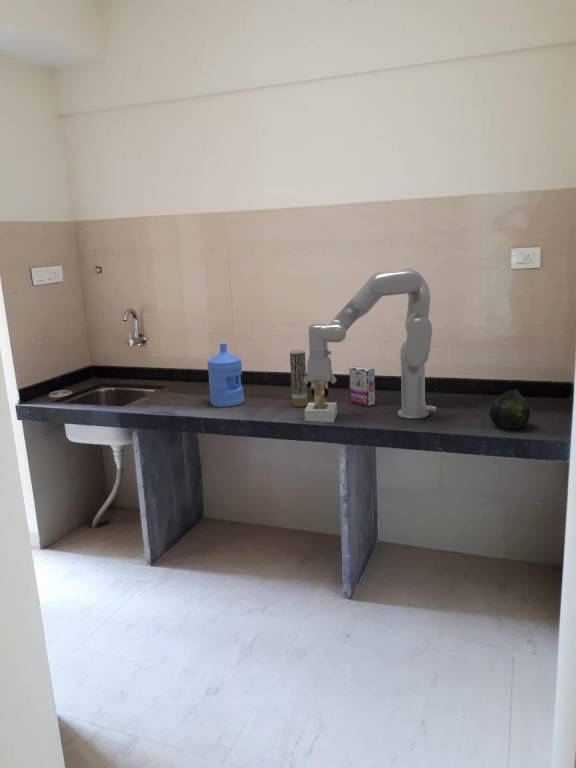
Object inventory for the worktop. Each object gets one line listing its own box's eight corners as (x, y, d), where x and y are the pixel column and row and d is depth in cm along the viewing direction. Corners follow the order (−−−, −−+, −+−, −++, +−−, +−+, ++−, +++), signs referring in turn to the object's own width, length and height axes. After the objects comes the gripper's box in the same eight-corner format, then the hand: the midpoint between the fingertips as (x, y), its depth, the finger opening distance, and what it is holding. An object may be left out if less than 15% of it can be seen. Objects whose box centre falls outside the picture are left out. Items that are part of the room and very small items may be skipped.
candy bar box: (375, 404, 283) (375, 368, 279) (368, 407, 279) (367, 370, 275) (357, 400, 291) (356, 365, 287) (349, 402, 288) (348, 367, 284)
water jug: (205, 407, 292) (200, 347, 285) (217, 398, 307) (212, 341, 300) (238, 408, 288) (233, 347, 281) (248, 398, 303) (244, 341, 296)
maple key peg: (326, 401, 268) (325, 378, 266) (324, 405, 262) (323, 381, 260) (316, 401, 269) (315, 378, 266) (314, 405, 263) (313, 381, 261)
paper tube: (289, 405, 288) (286, 351, 282) (300, 402, 292) (298, 349, 286) (299, 408, 283) (296, 353, 277) (310, 405, 287) (308, 350, 281)
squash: (485, 418, 237) (514, 389, 233) (480, 408, 252) (507, 380, 248) (514, 443, 237) (543, 413, 234) (507, 431, 252) (534, 404, 248)
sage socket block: (336, 413, 272) (336, 402, 270) (333, 422, 260) (333, 410, 259) (309, 413, 274) (308, 402, 273) (304, 422, 262) (304, 410, 261)
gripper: (339, 352, 263) (341, 394, 267) (300, 352, 266) (301, 394, 270) (338, 355, 255) (339, 399, 260) (297, 356, 258) (299, 399, 263)
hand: (320, 396), depth 265 cm, fingers closed on maple key peg, 4 cm apart
